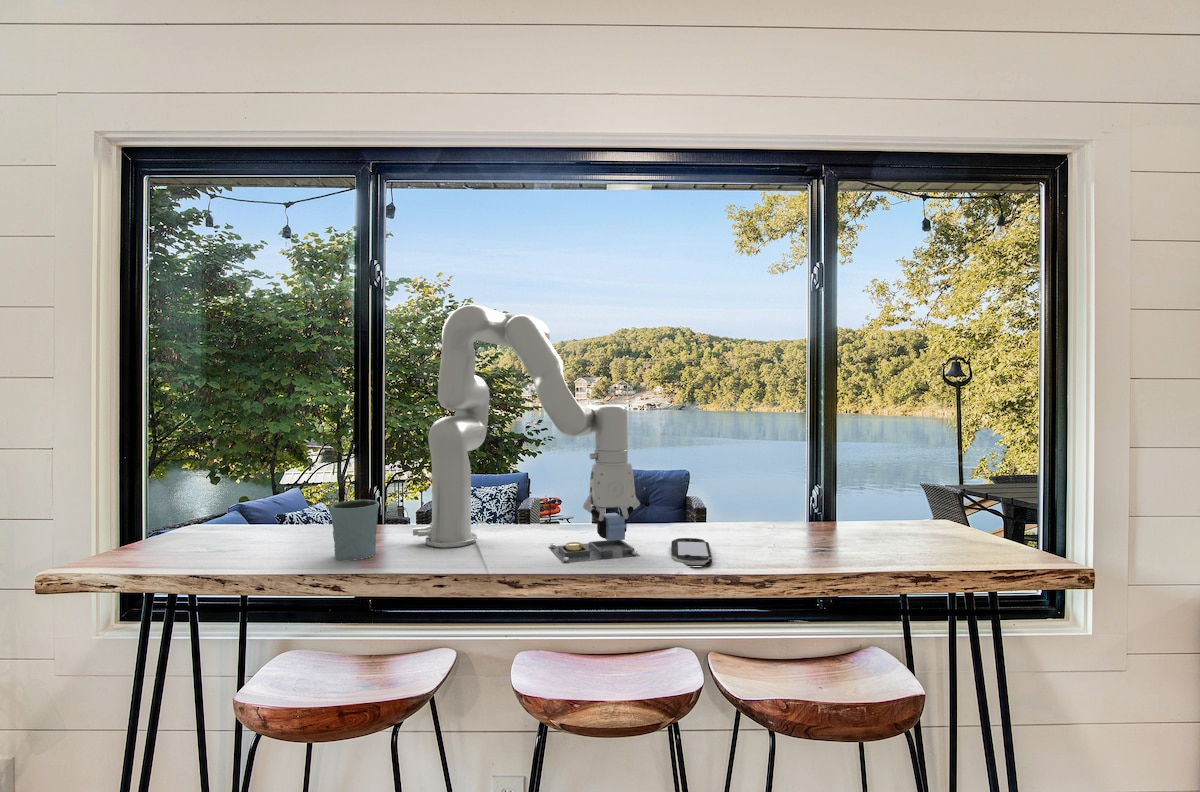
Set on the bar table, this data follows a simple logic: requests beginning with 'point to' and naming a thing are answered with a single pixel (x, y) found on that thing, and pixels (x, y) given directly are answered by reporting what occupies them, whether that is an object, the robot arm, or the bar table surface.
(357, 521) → the grey-green cup
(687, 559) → the gaming console
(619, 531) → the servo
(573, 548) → the bushing
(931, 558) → the bar table surface
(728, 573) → the bar table surface
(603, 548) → the plate
